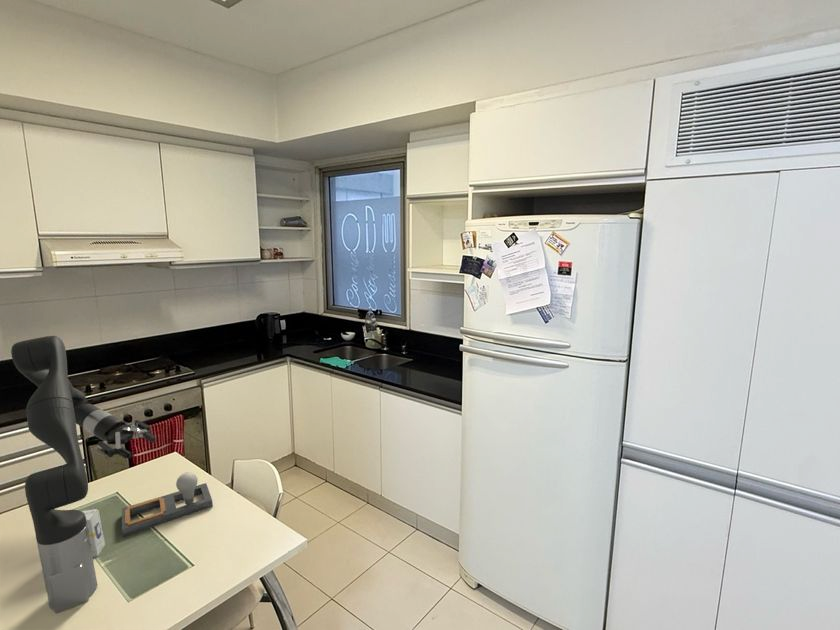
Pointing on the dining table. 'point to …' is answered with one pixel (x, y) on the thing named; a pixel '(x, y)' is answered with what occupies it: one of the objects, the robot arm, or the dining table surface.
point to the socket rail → (163, 510)
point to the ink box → (94, 531)
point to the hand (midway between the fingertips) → (142, 447)
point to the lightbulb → (187, 486)
